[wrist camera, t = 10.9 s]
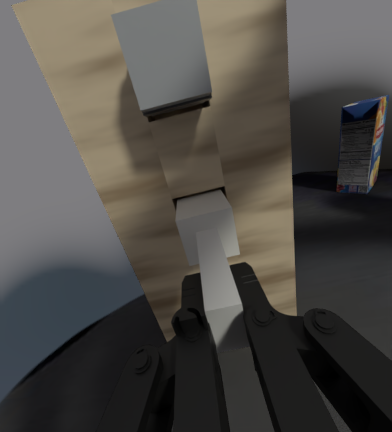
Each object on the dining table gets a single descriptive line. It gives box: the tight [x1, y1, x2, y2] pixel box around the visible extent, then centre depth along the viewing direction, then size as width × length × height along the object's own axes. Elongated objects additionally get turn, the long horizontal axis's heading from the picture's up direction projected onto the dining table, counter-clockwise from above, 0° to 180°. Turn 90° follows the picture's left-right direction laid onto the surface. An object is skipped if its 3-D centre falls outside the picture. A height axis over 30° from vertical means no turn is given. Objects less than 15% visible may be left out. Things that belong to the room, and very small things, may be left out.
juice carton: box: [336, 95, 389, 194], centre depth 57 cm, size 12×8×24 cm, turn 132°
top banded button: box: [111, 0, 212, 117], centre depth 13 cm, size 5×5×5 cm
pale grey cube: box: [175, 189, 240, 266], centre depth 18 cm, size 5×4×4 cm
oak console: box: [11, 0, 297, 342], centre depth 25 cm, size 10×18×38 cm, turn 94°
